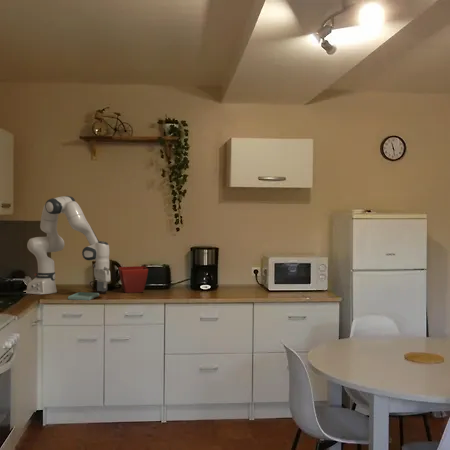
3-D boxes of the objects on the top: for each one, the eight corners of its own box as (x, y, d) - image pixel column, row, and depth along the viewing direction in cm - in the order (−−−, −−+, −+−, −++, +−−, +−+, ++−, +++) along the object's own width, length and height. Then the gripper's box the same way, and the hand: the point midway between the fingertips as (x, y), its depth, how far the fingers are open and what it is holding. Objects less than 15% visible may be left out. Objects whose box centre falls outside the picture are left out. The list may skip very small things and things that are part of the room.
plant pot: (118, 289, 407) (118, 266, 406) (144, 288, 413) (144, 265, 412) (120, 294, 389) (120, 270, 388) (148, 293, 394) (148, 269, 393)
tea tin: (96, 290, 370) (96, 280, 369) (100, 289, 375) (100, 279, 374) (104, 291, 368) (104, 280, 368) (107, 290, 373) (107, 279, 373)
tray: (68, 299, 367) (67, 296, 367) (78, 295, 384) (78, 292, 384) (89, 300, 365) (89, 297, 365) (99, 295, 381) (99, 293, 381)
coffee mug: (109, 292, 395) (109, 278, 395) (105, 294, 386) (105, 280, 386) (93, 292, 396) (93, 277, 396) (89, 294, 388) (89, 279, 387)
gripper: (113, 268, 363) (112, 289, 364) (101, 263, 380) (101, 284, 381) (103, 268, 360) (103, 289, 361) (92, 264, 377) (92, 284, 378)
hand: (102, 286), depth 371 cm, fingers closed on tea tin, 7 cm apart
